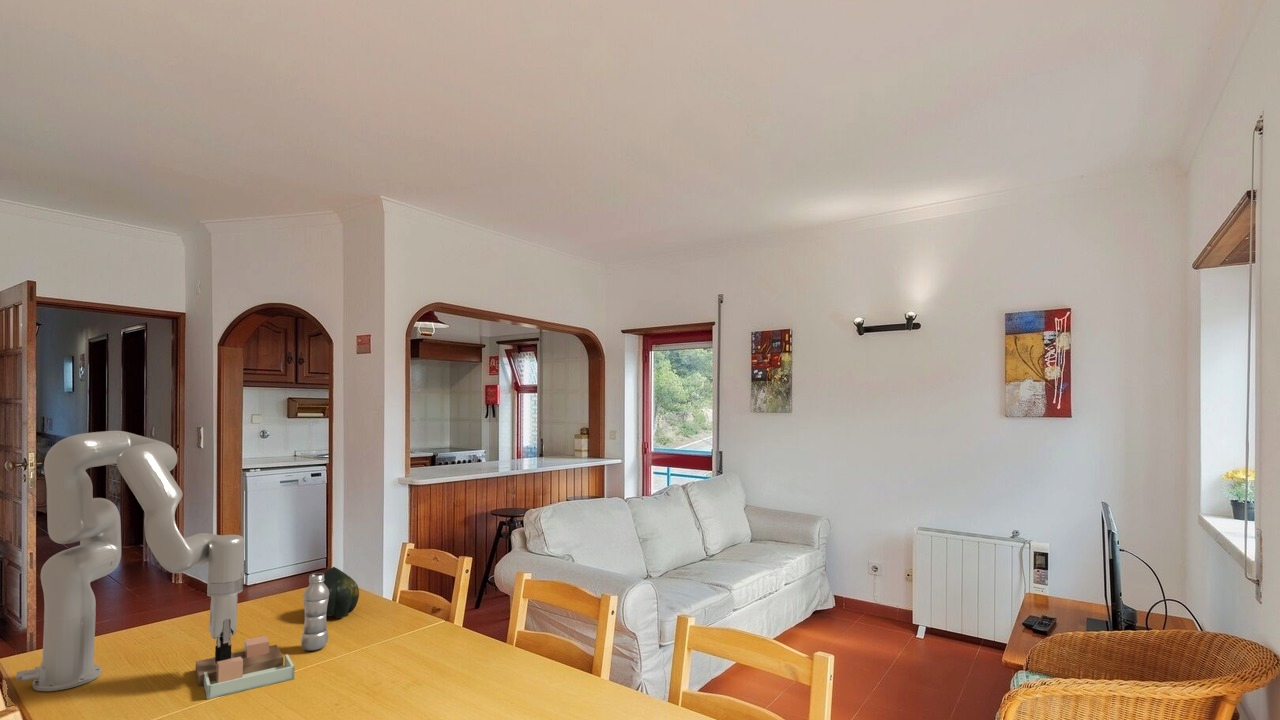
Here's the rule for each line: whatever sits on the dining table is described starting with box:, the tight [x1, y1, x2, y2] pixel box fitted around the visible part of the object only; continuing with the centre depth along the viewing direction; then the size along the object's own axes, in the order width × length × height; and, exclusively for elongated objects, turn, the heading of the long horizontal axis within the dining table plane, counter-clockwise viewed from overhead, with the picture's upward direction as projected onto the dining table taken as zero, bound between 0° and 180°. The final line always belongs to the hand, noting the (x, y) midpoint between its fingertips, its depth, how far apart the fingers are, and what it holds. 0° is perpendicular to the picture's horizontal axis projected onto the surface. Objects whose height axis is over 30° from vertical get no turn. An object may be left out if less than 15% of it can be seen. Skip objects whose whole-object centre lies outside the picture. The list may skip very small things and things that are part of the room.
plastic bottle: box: [300, 572, 329, 652], centre depth 181 cm, size 6×7×20 cm
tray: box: [203, 653, 296, 700], centre depth 161 cm, size 18×9×3 cm, turn 128°
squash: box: [323, 566, 360, 619], centre depth 207 cm, size 14×15×15 cm
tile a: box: [216, 656, 243, 683], centre depth 159 cm, size 5×5×3 cm
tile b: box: [243, 635, 270, 658], centre depth 172 cm, size 5×5×3 cm
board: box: [195, 644, 284, 687], centre depth 167 cm, size 18×10×2 cm, turn 128°
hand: (222, 661), depth 163 cm, fingers closed
